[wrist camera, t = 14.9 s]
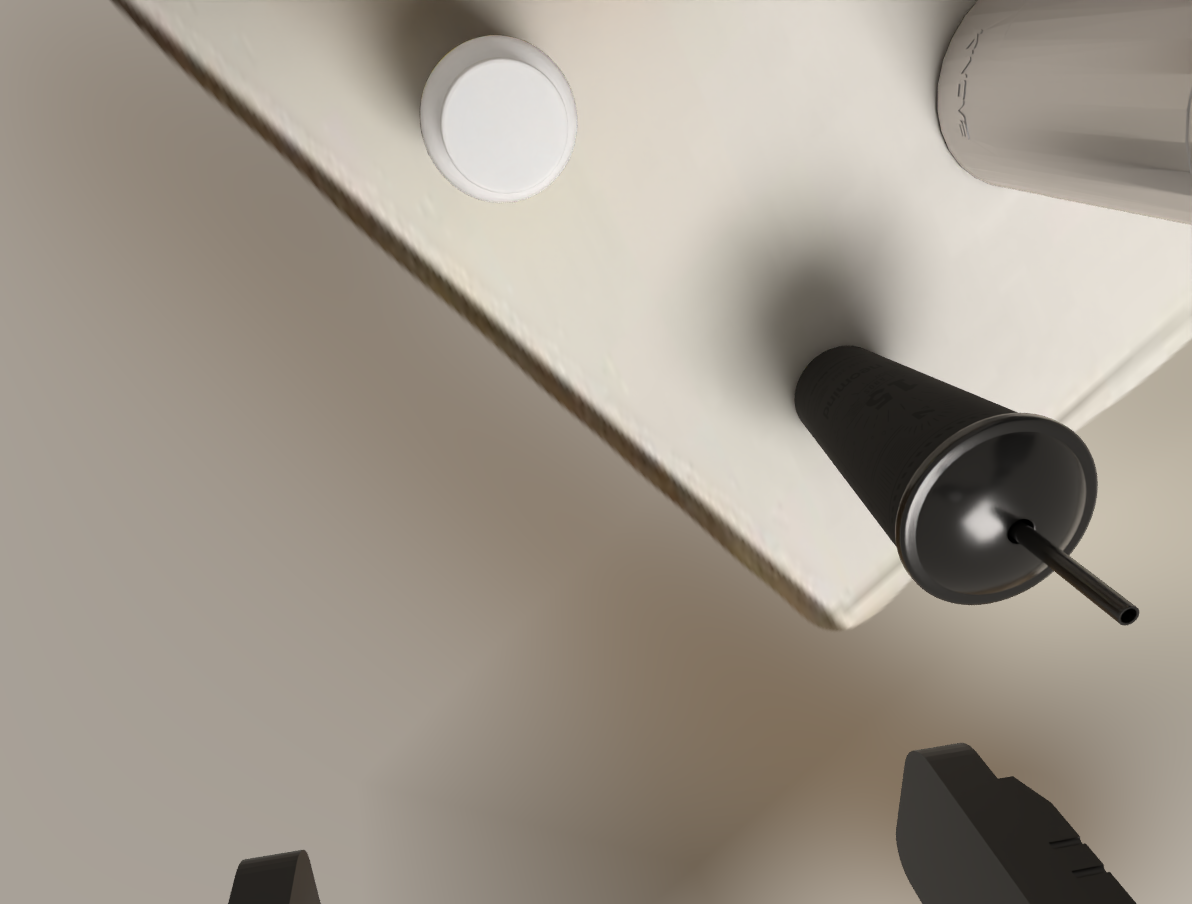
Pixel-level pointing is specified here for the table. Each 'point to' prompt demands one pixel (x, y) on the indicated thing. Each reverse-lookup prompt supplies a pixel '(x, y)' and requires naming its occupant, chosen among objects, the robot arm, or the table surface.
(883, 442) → the drinking cup
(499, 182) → the supplement bottle
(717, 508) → the table surface
